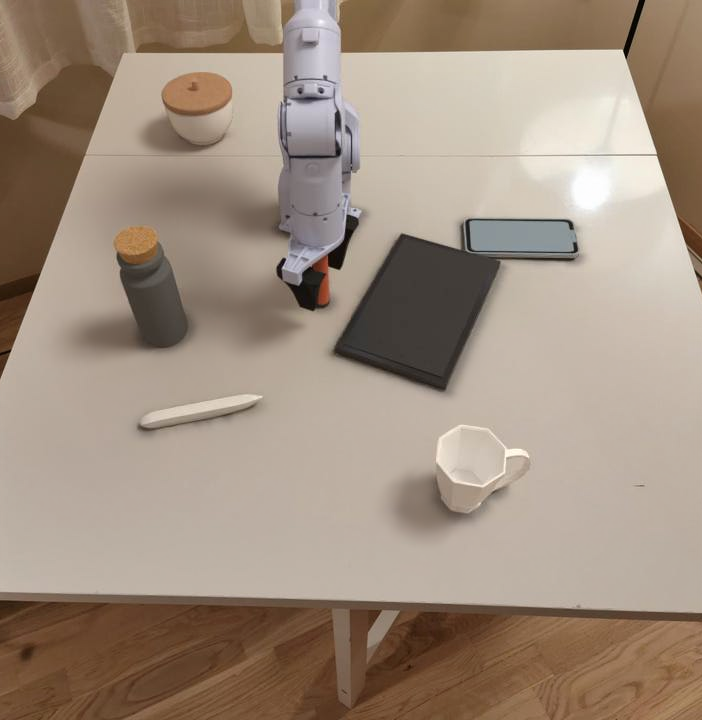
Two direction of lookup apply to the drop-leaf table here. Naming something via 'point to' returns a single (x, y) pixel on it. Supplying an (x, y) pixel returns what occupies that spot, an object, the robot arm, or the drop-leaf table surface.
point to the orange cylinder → (323, 282)
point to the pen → (198, 411)
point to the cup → (473, 466)
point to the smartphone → (521, 237)
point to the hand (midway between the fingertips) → (321, 286)
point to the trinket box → (199, 106)
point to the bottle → (150, 287)
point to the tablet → (419, 311)
